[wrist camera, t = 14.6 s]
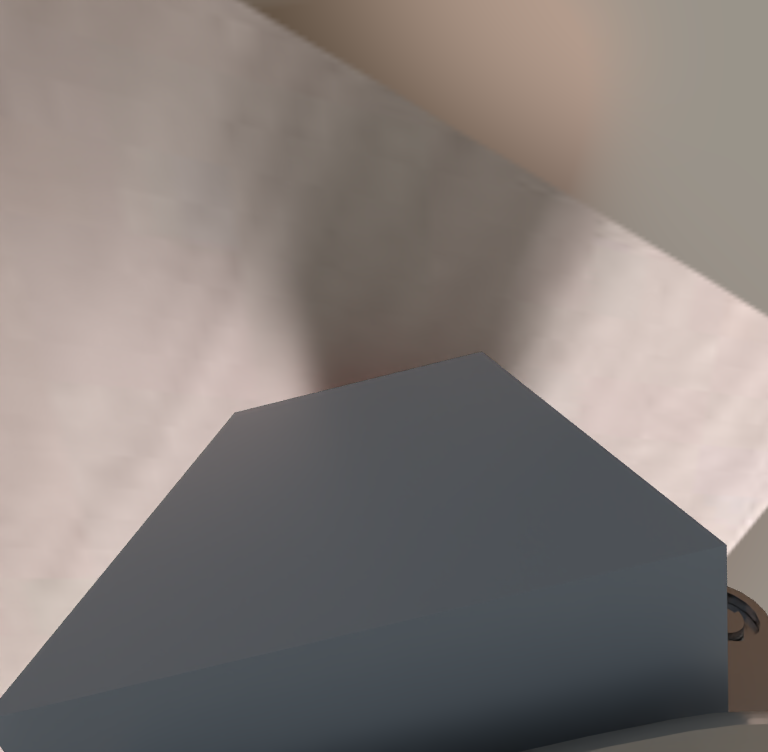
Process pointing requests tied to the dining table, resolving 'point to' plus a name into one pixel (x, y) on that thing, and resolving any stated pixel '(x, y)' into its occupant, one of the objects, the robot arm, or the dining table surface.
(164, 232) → the dining table surface
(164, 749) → the pale blue cube
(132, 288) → the dining table surface
